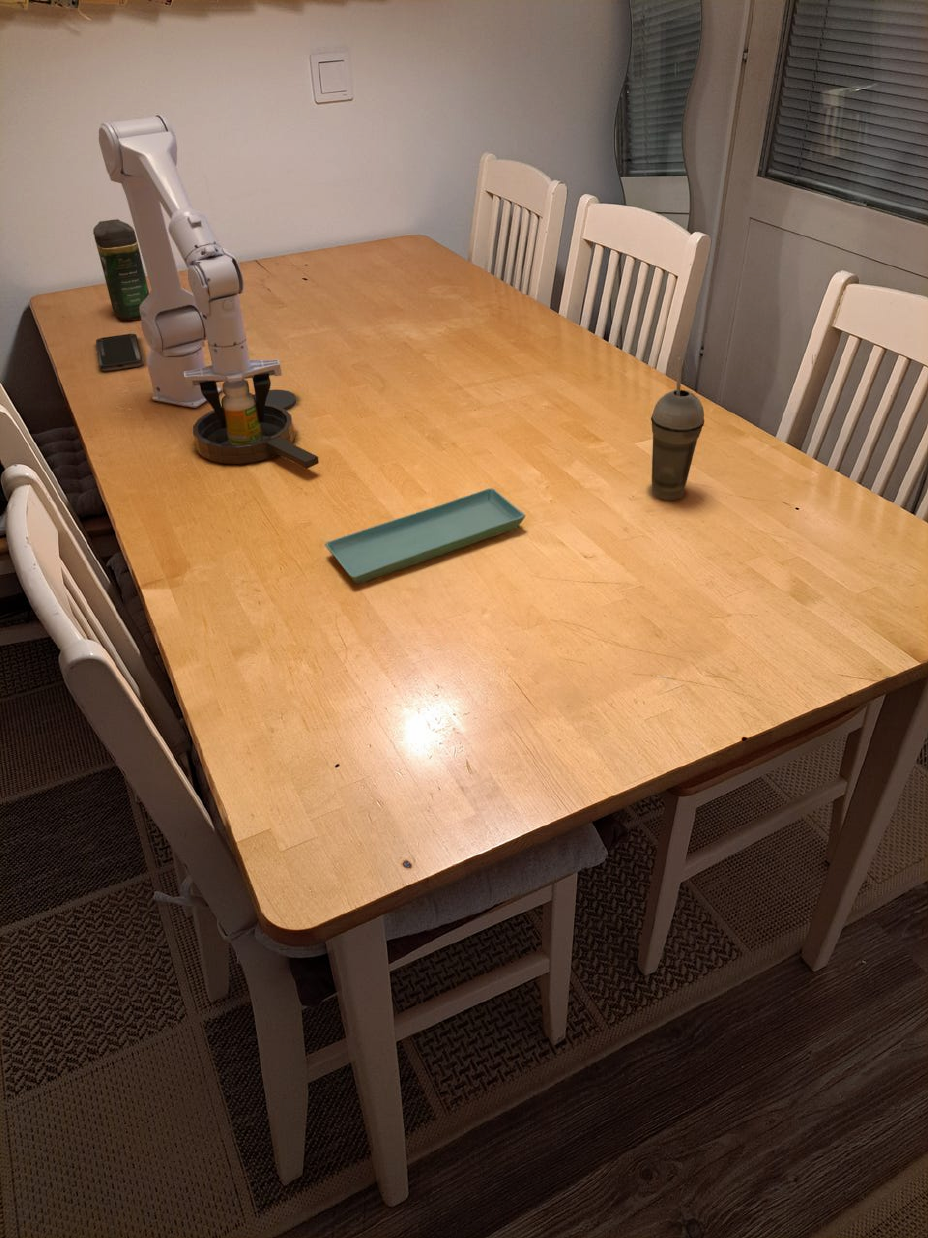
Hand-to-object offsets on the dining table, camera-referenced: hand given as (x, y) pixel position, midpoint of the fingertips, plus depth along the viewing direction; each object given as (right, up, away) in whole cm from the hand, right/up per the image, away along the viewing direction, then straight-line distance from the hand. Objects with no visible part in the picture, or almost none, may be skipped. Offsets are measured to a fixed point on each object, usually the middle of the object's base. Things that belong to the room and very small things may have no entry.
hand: (242, 422), depth 145 cm
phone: (-32, +20, +32) cm, 49 cm away
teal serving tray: (+31, -21, -22) cm, 43 cm away
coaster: (+2, +6, +13) cm, 15 cm away
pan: (0, -3, +2) cm, 3 cm away
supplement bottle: (0, -3, +2) cm, 3 cm away
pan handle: (+9, -6, -6) cm, 13 cm away
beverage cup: (+65, -13, -13) cm, 68 cm away
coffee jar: (-35, +34, +49) cm, 69 cm away
